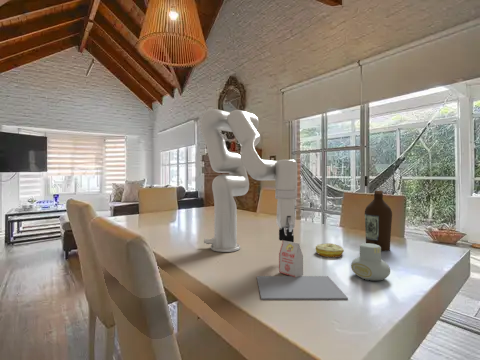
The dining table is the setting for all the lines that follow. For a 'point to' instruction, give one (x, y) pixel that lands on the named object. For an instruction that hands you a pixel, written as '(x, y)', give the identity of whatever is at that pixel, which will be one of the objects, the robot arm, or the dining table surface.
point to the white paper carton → (291, 259)
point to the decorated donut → (329, 250)
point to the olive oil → (378, 222)
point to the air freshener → (370, 263)
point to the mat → (299, 288)
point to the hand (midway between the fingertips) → (285, 243)
